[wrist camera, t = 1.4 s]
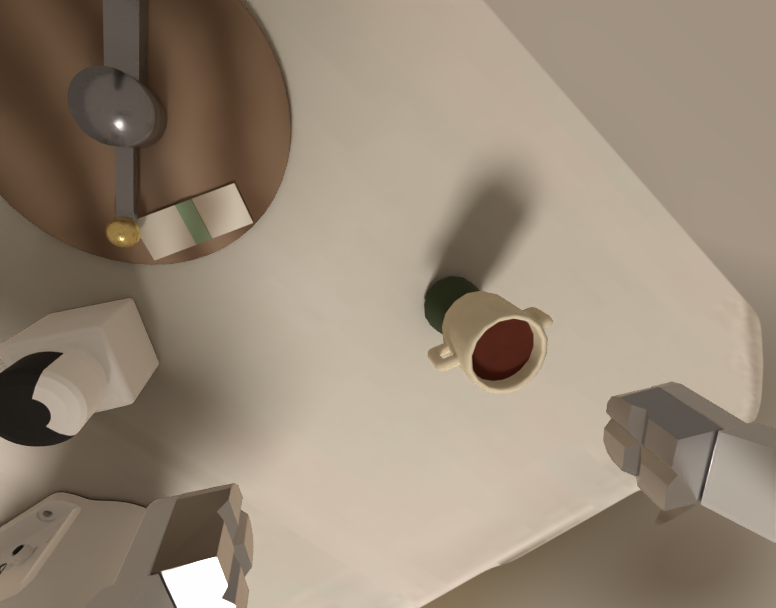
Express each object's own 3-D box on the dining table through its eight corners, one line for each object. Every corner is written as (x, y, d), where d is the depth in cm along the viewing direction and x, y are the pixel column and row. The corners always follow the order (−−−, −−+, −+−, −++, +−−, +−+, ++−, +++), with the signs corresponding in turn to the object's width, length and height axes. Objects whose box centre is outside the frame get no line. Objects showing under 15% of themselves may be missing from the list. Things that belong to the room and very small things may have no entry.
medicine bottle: (81, 382, 38) (-6, 472, 27) (47, 313, 35) (-65, 381, 24) (161, 364, 39) (108, 444, 28) (133, 296, 36) (63, 353, 25)
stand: (80, 302, 35) (73, 307, 34) (-144, -14, 26) (-163, -22, 25) (332, 205, 38) (333, 207, 36) (206, -119, 28) (202, -131, 27)
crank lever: (111, 242, 34) (51, 268, 25) (70, -78, 27) (-30, -187, 18) (176, 245, 35) (139, 271, 26) (153, -61, 28) (94, -156, 20)
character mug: (412, 348, 44) (457, 417, 32) (393, 292, 42) (433, 344, 30) (501, 312, 45) (575, 365, 33) (487, 254, 43) (562, 290, 31)
